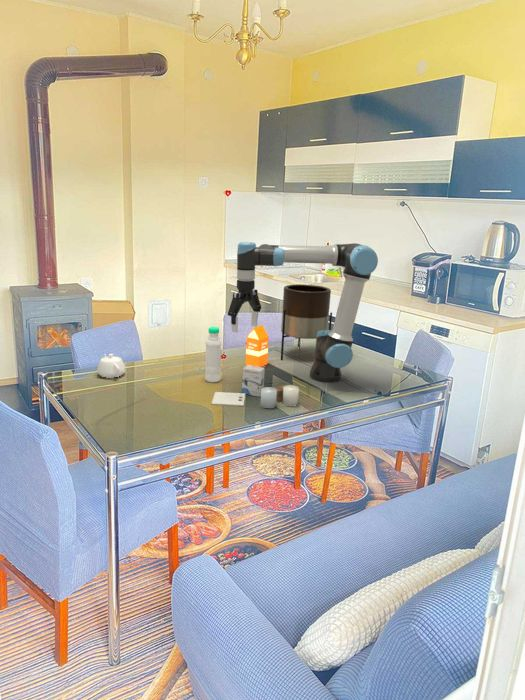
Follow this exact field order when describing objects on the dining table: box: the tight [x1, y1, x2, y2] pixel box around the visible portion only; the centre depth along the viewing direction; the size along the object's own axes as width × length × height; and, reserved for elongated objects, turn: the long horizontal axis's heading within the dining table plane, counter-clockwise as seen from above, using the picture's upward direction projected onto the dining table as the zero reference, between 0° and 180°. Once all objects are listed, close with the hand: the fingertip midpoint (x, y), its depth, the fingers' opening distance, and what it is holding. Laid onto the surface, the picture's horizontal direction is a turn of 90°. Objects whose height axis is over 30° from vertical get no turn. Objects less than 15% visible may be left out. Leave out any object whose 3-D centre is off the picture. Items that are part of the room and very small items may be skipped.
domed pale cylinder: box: [259, 386, 277, 409], centre depth 208 cm, size 6×6×7 cm
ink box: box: [241, 365, 266, 398], centre depth 220 cm, size 9×5×12 cm, turn 71°
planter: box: [280, 283, 333, 361], centre depth 274 cm, size 27×26×38 cm
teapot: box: [96, 353, 126, 379], centre depth 235 cm, size 20×12×10 cm, turn 34°
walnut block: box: [272, 385, 285, 402], centre depth 217 cm, size 5×5×5 cm
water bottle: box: [204, 326, 222, 383], centre depth 232 cm, size 7×7×25 cm
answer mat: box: [211, 391, 246, 407], centre depth 214 cm, size 13×13×1 cm
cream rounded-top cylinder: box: [281, 384, 300, 407], centre depth 212 cm, size 6×6×7 cm
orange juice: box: [245, 324, 269, 367], centre depth 259 cm, size 8×9×20 cm
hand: (244, 328), depth 221 cm, fingers open, 13 cm apart
